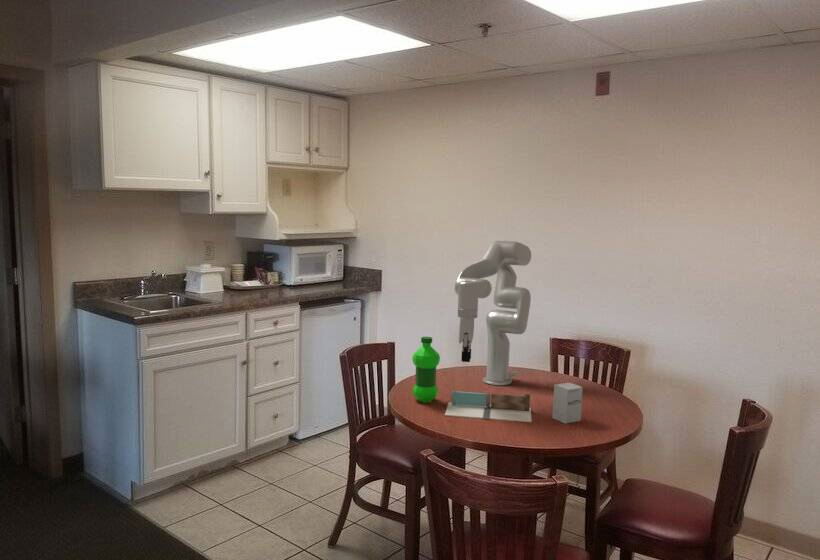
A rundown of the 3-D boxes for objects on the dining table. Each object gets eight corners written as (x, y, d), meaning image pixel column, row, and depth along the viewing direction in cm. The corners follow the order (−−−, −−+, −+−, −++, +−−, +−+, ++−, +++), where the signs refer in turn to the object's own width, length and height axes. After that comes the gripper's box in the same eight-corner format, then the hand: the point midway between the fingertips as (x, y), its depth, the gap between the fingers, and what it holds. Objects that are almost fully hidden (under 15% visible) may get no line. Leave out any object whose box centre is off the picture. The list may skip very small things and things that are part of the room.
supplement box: (565, 424, 216) (567, 389, 215) (551, 417, 223) (553, 384, 222) (581, 421, 220) (583, 387, 218) (567, 415, 226) (569, 381, 225)
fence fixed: (529, 409, 230) (530, 394, 230) (529, 411, 228) (530, 395, 228) (490, 406, 233) (491, 391, 232) (490, 408, 231) (491, 392, 230)
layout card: (530, 408, 232) (530, 407, 232) (531, 423, 217) (531, 421, 217) (449, 403, 237) (449, 401, 237) (444, 416, 222) (444, 415, 222)
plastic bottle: (406, 399, 241) (408, 336, 238) (427, 394, 247) (429, 333, 244) (422, 406, 233) (424, 341, 230) (443, 401, 239) (445, 338, 237)
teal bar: (489, 405, 233) (490, 393, 232) (489, 407, 231) (490, 394, 230) (451, 402, 235) (451, 390, 235) (451, 404, 233) (451, 392, 233)
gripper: (459, 309, 242) (458, 354, 244) (455, 316, 226) (454, 365, 228) (478, 310, 241) (477, 355, 243) (476, 317, 224) (474, 366, 227)
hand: (466, 359), depth 235 cm, fingers open, 4 cm apart
